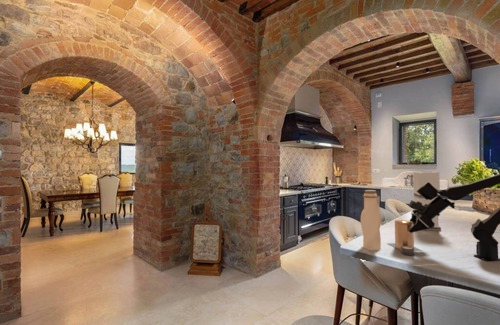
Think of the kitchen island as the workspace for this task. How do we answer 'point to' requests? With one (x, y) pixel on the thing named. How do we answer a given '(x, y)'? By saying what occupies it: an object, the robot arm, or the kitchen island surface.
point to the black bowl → (407, 250)
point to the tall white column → (420, 181)
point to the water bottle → (371, 221)
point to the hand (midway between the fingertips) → (407, 229)
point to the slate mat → (400, 250)
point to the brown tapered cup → (403, 234)
